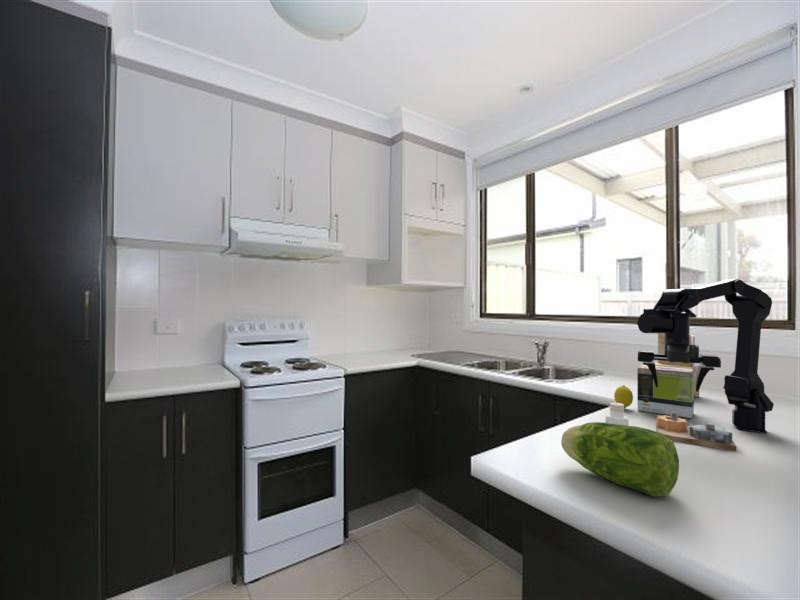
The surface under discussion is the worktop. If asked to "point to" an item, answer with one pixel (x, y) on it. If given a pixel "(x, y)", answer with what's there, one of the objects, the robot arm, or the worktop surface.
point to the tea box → (666, 391)
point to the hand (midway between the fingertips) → (676, 389)
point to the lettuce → (625, 455)
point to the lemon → (623, 396)
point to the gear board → (692, 439)
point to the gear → (671, 423)
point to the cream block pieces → (677, 364)
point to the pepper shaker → (616, 414)
